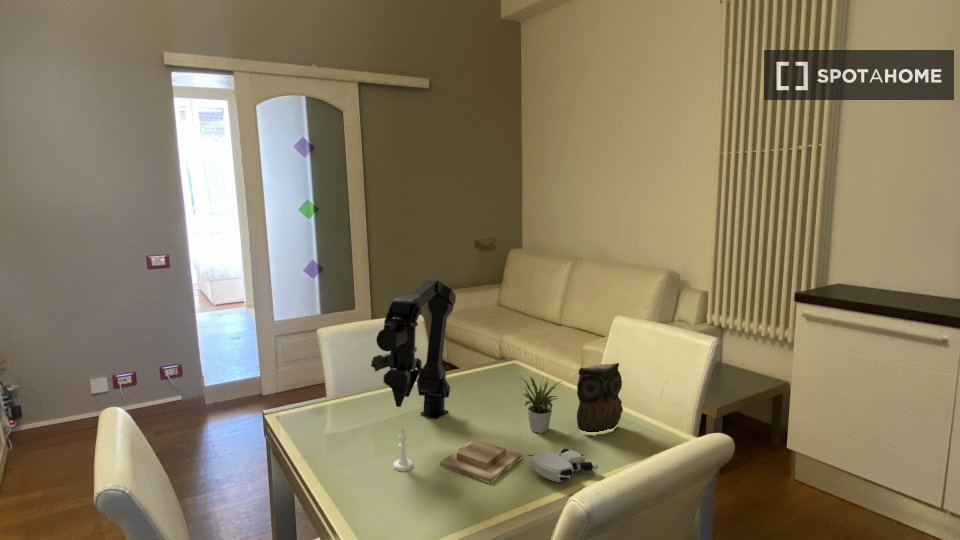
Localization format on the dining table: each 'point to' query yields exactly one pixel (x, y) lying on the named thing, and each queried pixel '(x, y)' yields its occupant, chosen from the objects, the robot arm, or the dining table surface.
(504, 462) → the pedestal
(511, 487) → the dining table surface
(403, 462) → the chess piece
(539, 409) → the house plant
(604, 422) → the owl
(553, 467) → the robot toy
